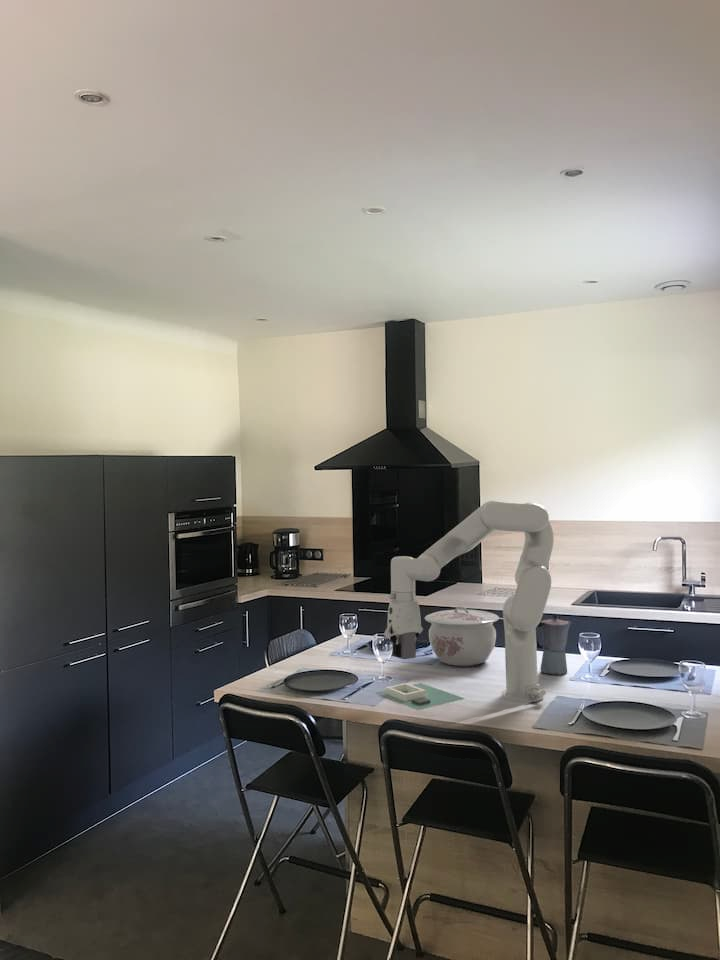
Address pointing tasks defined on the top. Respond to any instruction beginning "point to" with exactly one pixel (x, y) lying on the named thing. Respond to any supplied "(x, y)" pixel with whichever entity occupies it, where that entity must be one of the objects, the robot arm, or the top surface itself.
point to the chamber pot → (462, 636)
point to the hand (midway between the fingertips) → (403, 654)
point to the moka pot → (554, 645)
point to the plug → (407, 646)
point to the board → (418, 695)
